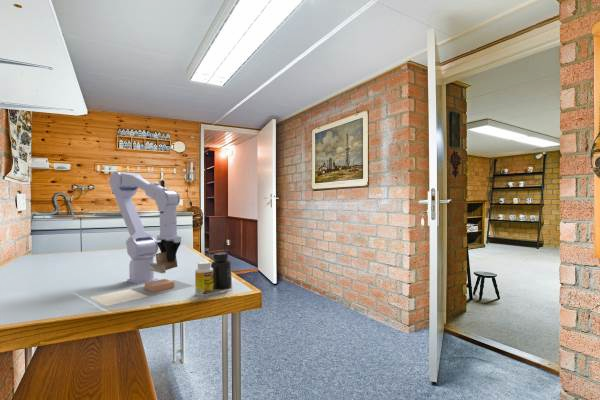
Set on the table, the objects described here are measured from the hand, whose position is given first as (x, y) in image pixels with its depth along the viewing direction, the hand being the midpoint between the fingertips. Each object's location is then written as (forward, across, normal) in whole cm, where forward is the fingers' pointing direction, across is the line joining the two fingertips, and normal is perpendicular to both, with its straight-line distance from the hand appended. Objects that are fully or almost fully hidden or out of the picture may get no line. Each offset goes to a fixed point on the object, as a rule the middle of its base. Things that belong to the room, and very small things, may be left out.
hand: (168, 261), depth 116 cm
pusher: (+3, 0, 0) cm, 3 cm away
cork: (+9, +13, +13) cm, 21 cm away
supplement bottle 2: (+9, +19, +9) cm, 23 cm away
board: (+8, +4, -10) cm, 14 cm away
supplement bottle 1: (+9, +21, +1) cm, 23 cm away
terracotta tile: (+8, +3, -5) cm, 10 cm away
